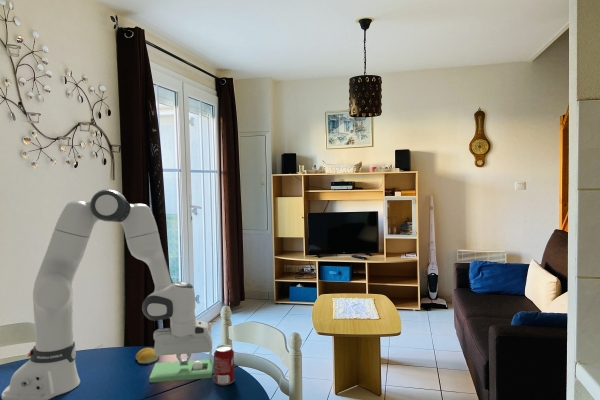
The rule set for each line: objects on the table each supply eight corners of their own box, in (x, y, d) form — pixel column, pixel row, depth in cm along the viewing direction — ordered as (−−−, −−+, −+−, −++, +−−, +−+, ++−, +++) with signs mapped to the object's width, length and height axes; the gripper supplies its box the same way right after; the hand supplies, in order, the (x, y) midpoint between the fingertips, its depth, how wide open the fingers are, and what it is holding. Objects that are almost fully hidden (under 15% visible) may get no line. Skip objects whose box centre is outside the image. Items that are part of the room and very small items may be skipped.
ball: (194, 374, 155) (190, 365, 154) (195, 370, 158) (191, 361, 158) (203, 370, 155) (200, 361, 155) (204, 366, 159) (200, 357, 158)
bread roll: (140, 366, 162) (140, 356, 161) (133, 358, 169) (133, 348, 169) (162, 360, 167) (162, 350, 166) (155, 353, 174) (154, 343, 174)
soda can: (230, 387, 144) (229, 352, 144) (211, 385, 146) (210, 351, 145) (237, 378, 151) (236, 344, 150) (218, 376, 152) (218, 343, 152)
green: (149, 382, 148) (148, 337, 148) (155, 367, 160) (154, 326, 159) (211, 377, 152) (210, 334, 151) (213, 363, 163) (212, 322, 163)
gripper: (151, 332, 150) (152, 370, 151) (211, 328, 153) (212, 366, 154) (154, 325, 157) (155, 363, 157) (212, 322, 160) (213, 359, 160)
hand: (184, 364), depth 156 cm, fingers closed
